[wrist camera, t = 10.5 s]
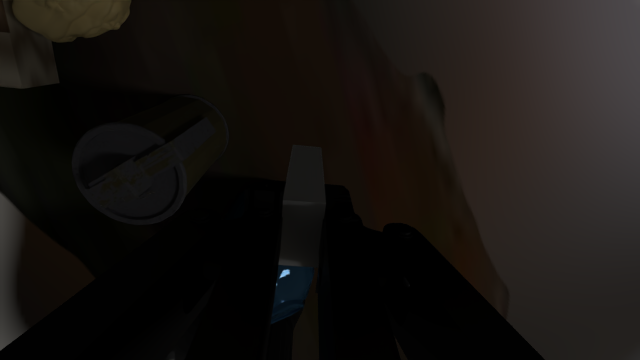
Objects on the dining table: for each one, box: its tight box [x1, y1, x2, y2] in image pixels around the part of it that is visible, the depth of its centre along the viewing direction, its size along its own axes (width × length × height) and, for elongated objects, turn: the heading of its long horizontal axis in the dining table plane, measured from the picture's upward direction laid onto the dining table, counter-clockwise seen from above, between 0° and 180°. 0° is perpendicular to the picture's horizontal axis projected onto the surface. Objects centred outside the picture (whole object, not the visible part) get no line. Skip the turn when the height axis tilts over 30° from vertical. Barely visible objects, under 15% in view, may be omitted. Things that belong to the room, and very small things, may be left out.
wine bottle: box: [224, 190, 314, 324], centre depth 38 cm, size 14×13×30 cm
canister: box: [72, 95, 229, 225], centre depth 37 cm, size 11×10×20 cm
